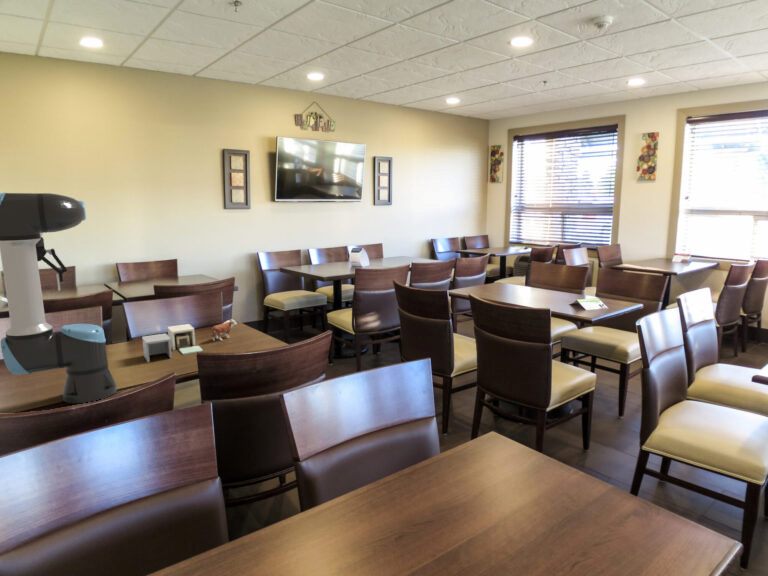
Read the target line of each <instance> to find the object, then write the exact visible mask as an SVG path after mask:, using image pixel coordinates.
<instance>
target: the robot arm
mask: <svg viewBox="0 0 768 576" xmlns="http://www.w3.org/2000/svg"><path fill="white" fill-rule="evenodd" d="M85 205H86V204H85V202H84V200H83V201H82V200H78V199H75V198H73V197H70V196H67V195H63V194H57V193H51V192H46V193H45V192H43V193H37V192H35V193H33V192H31V193H30V192H29V193H28V192H26V193H25V192H23V193H21V192H20V193H19V192H0V261H1V266H2V276H3V279H4V285H5V292H6V293H5V294H6V295H5V296H6V300H7V305H8V306H7V307H8V314H9V315H8V316H9V320H10V321H9V322H10V327H9V328H8V329H7V330H6V332H5V337H3V338H1V340H0V349H1V353H2V357H3V361H4V364H5V367H6V369H7V370H8V372H10V373H11V374H12V375H15V376H16V375H17V376H18V375H26V374H28V375H31V374H34V373H40V372H46V371H54V370H59V369H60V370H61V369H64V368H65V370H66V371H65V372H66V378H65V382H64V384H63V390H62V400H63V401H64V402H65V403H68V404H87V403H86V402H88V403H92V402H91V401H94V402H97V401H96V400H98V401H100V400H99V399H101V400H103V399H106V398H109V397H111V396H113V395H115V393H117V391H118V390H117V383H116V380H115V378H114V377H113V375H112V374H111V371H110V369H109V363H108V361H109V360H108V356H107V346H106V345H107V344H106V341H107V340H106V337H105V331H104V328H103V327H101V326H100V325H96V324H92V323H71V324H65V325H63V326H61V327H60V330H59V331H58V330H57V331H53V330H54V329H53V326H52V325H51V324H50V323H48V322H47V321H46V315H45V308H44V307H45V306H44V298H43V292H42V285H41V276H40V270H39V268H40V267H39V262H41V261H42V262H44V263H46V265H48V266H49V267H50V268H51V269H53V271H55V272H56V275H55V276H56V283H57V291H58V292H60V291H61V283H62V282H63V281H64V279H63V274H64V273H67V272H68V268H67V267H66V266H65V264H64V263H63V262H62V260H61V259H60V258H59V257H58V255H57V253H56V250H55V249H54V248H50V249H46V248H45V247H46V246H45V240H44V234H46V233H48V234H49V233H56V232H62V231H67V230H69V229H72V228H75V227H77V226H78V225H80V224H81V223H82V222H83V221H85V220H86V219H87V216H86V215H87V213H86V207H85ZM42 236H43V237H42ZM47 253H48V254H49V256H51V255H52V257H53V259H54V260H55V261H56V263H57V264H58V266H59V267H60V268H61V269H60V268H58V266H56V265H55V264H54V263H53V262H52V261H50V260H49V259H48V258H47V257H46V255H47Z"/></svg>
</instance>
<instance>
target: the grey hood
mask: <svg viewBox="0 0 768 576" xmlns="http://www.w3.org/2000/svg"><path fill="white" fill-rule="evenodd" d="M141 337H142V338H141V340H142V350H143V357H144V358H145V360H146V362H147V363H150V362H151V361H150V356H153V355H161V354H166V355H167V357H168V358H169V359H173V355H172V351H173V350H172V348H171V339H170V338H169V337H168V334H167V333H158V334H152V335H147V336H145V335H144V336H141Z"/></svg>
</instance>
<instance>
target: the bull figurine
mask: <svg viewBox="0 0 768 576" xmlns="http://www.w3.org/2000/svg"><path fill="white" fill-rule="evenodd" d="M237 325H238V323H237V322H236V321H235V319H232V318H231V319H229V320H226V321H225V322H223V323H220V324H218V325H217V324H216V325H214V326H212V328H211V333H212V335H211V337H212V341H213V342H215V341H216V339H217V340H219V341H221V342H223V338H221V336H222V335H223V334H225V337H226V338H227V339H230V338H231V337H230V336H229V335H230V332H231V329H232V328H233V327H234V326H237ZM215 338H216V339H215Z"/></svg>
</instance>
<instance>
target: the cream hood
mask: <svg viewBox="0 0 768 576" xmlns="http://www.w3.org/2000/svg"><path fill="white" fill-rule="evenodd" d="M167 333H168V334H167V335H168V337H169V338H170V339H171V350H172V351H176V346H175V335H176V334H183V333H187V334H188V335H189V341H190V346H191V347H193V346H197V345H196V334H195V327H193V326H192V325H191V324H190V323H186V324H179V325H172V326H167Z"/></svg>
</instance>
